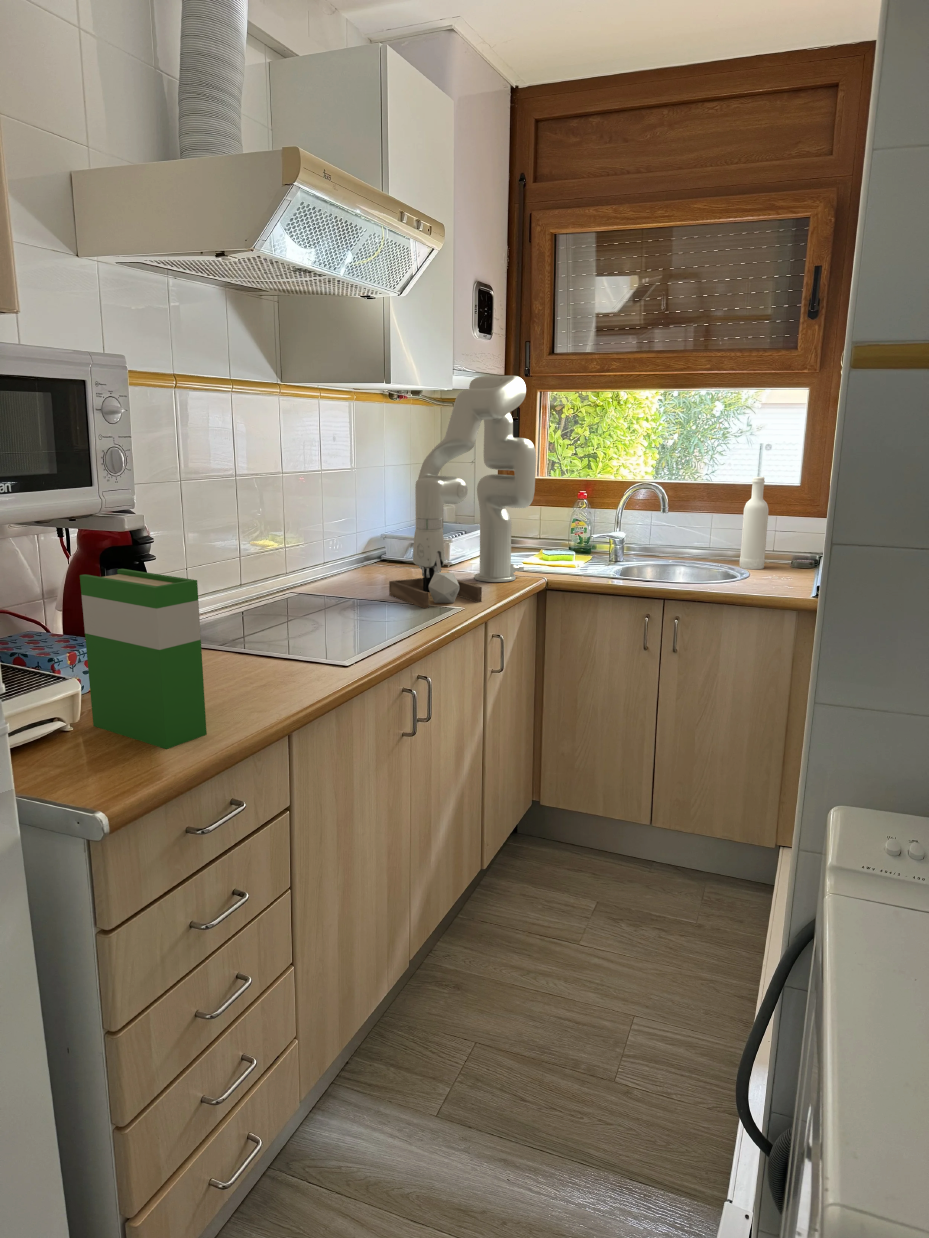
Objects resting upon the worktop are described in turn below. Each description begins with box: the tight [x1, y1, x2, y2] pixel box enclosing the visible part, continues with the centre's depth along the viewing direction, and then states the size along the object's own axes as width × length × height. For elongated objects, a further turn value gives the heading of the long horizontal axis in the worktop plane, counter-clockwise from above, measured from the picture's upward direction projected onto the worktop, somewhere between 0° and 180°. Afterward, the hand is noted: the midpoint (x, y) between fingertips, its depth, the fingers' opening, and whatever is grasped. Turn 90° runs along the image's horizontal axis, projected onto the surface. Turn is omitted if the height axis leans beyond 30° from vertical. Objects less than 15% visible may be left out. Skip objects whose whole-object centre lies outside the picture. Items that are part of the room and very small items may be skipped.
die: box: [429, 572, 460, 604], centre depth 234 cm, size 8×9×10 cm
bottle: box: [739, 476, 769, 570], centre depth 290 cm, size 8×8×30 cm
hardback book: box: [79, 568, 208, 750], centre depth 133 cm, size 18×7×24 cm, turn 56°
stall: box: [388, 577, 483, 609], centre depth 238 cm, size 17×20×4 cm
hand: (429, 591), depth 241 cm, fingers closed
